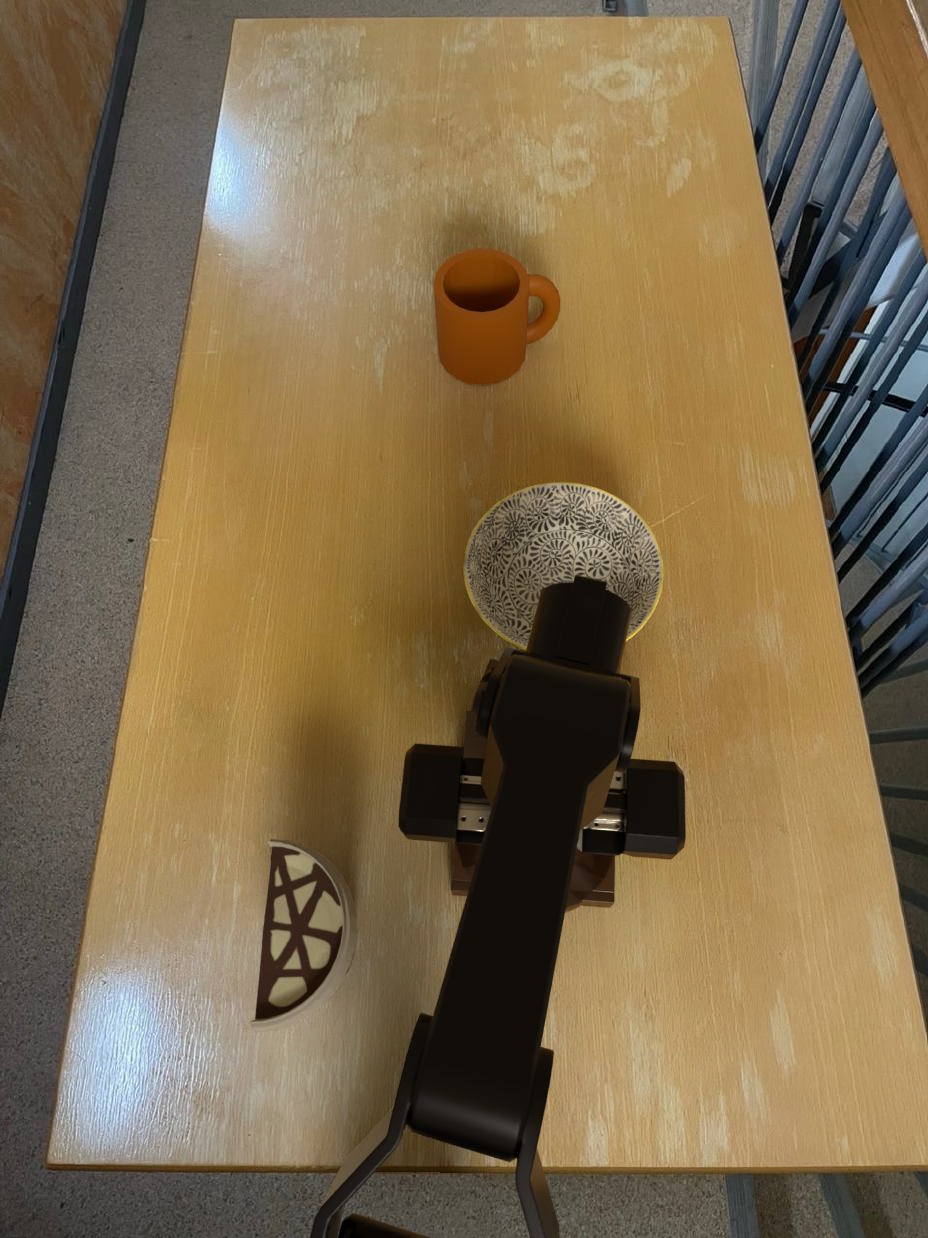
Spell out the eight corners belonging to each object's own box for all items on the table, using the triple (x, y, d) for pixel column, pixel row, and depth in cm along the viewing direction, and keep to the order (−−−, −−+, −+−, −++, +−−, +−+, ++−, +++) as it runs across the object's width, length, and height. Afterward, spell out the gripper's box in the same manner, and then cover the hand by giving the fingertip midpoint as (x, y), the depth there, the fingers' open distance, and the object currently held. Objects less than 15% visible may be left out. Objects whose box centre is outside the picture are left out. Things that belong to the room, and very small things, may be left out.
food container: (366, 1035, 66) (346, 1034, 57) (281, 1034, 66) (247, 1032, 57) (375, 860, 71) (358, 834, 62) (296, 860, 71) (268, 833, 62)
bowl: (428, 622, 80) (423, 583, 73) (535, 496, 85) (539, 448, 78) (581, 728, 75) (590, 696, 68) (684, 589, 80) (702, 546, 74)
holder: (612, 924, 69) (616, 920, 66) (448, 911, 69) (447, 906, 67) (615, 730, 75) (619, 721, 73) (464, 720, 76) (464, 710, 74)
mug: (560, 384, 90) (567, 318, 82) (438, 387, 90) (433, 321, 82) (555, 314, 94) (562, 244, 86) (438, 317, 94) (433, 247, 86)
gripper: (701, 657, 58) (659, 732, 72) (406, 638, 59) (423, 716, 73) (706, 835, 53) (660, 878, 67) (387, 811, 54) (408, 858, 68)
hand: (535, 826), depth 69 cm, fingers open, 4 cm apart
